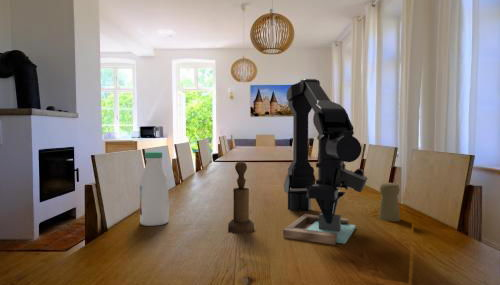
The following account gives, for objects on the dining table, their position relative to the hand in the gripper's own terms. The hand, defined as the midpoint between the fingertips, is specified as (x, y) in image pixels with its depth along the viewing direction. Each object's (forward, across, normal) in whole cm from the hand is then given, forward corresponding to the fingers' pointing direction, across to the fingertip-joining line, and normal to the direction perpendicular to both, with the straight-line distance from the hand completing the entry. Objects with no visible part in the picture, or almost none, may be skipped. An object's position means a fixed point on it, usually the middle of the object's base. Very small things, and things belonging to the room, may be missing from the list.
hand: (329, 222), depth 82 cm
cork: (+4, +21, -12) cm, 25 cm away
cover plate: (+2, 0, 0) cm, 2 cm away
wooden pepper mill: (+4, -7, +21) cm, 22 cm away
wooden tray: (+3, 0, +3) cm, 4 cm away
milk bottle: (+4, -10, +47) cm, 48 cm away
